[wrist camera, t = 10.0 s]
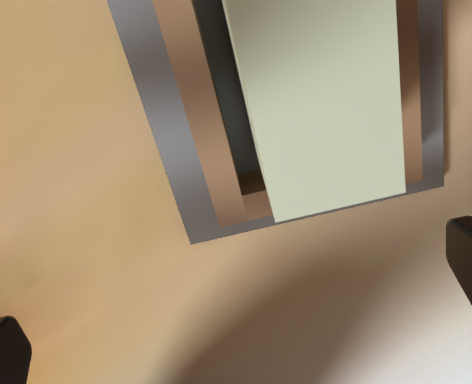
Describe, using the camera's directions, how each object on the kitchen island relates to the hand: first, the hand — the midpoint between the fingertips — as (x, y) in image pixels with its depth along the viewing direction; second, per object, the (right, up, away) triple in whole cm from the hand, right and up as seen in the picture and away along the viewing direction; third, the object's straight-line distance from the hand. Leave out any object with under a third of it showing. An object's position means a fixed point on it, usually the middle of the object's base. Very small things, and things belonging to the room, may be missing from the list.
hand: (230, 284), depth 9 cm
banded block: (+2, +7, +8) cm, 11 cm away
